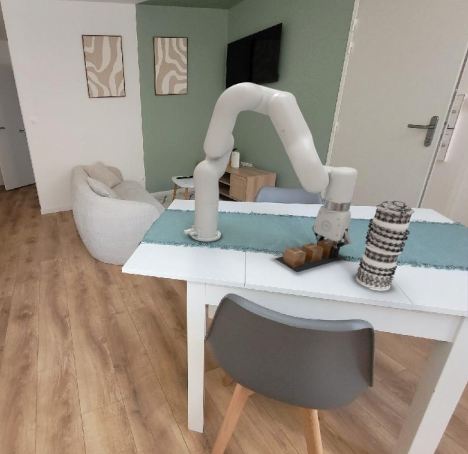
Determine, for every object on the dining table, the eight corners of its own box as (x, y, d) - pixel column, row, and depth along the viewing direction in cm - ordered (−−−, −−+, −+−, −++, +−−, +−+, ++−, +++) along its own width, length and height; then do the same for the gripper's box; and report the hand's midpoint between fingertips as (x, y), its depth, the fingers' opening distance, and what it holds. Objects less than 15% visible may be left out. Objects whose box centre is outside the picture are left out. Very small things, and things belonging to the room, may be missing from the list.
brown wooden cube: (293, 267, 96) (295, 255, 94) (282, 261, 100) (284, 249, 98) (303, 264, 97) (306, 252, 95) (293, 258, 101) (295, 246, 99)
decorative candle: (348, 273, 92) (367, 198, 82) (381, 275, 90) (404, 198, 81) (362, 290, 84) (385, 208, 74) (398, 292, 82) (427, 209, 72)
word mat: (296, 273, 93) (297, 272, 93) (274, 259, 102) (274, 258, 102) (345, 258, 100) (346, 257, 100) (320, 247, 109) (321, 246, 109)
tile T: (327, 258, 100) (329, 246, 99) (315, 252, 104) (318, 240, 103) (336, 255, 102) (339, 243, 100) (325, 249, 106) (327, 238, 104)
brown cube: (310, 262, 98) (313, 250, 96) (300, 256, 102) (302, 245, 100) (321, 259, 100) (323, 247, 98) (309, 254, 104) (312, 242, 102)
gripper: (306, 200, 102) (299, 246, 109) (353, 215, 87) (340, 267, 95) (322, 196, 105) (314, 242, 112) (370, 210, 90) (357, 262, 97)
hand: (326, 253), depth 103 cm, fingers open, 4 cm apart
